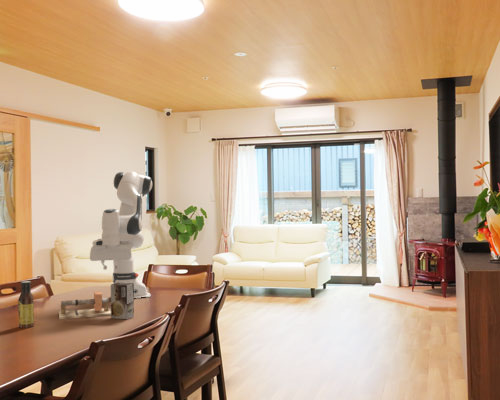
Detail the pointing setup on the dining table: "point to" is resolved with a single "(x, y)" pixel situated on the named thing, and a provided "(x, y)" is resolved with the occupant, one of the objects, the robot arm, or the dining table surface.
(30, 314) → the sauce bottle
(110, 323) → the dining table surface
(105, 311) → the pipe stand
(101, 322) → the dining table surface
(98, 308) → the bridge block
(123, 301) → the coffee box
